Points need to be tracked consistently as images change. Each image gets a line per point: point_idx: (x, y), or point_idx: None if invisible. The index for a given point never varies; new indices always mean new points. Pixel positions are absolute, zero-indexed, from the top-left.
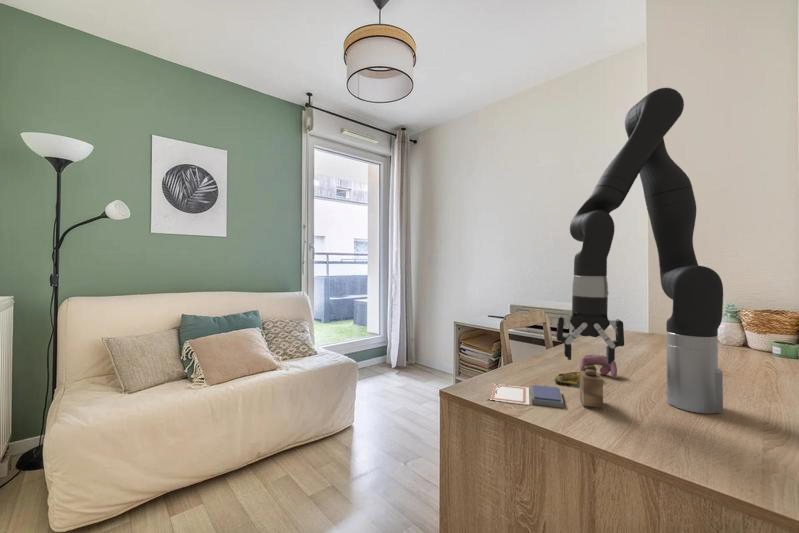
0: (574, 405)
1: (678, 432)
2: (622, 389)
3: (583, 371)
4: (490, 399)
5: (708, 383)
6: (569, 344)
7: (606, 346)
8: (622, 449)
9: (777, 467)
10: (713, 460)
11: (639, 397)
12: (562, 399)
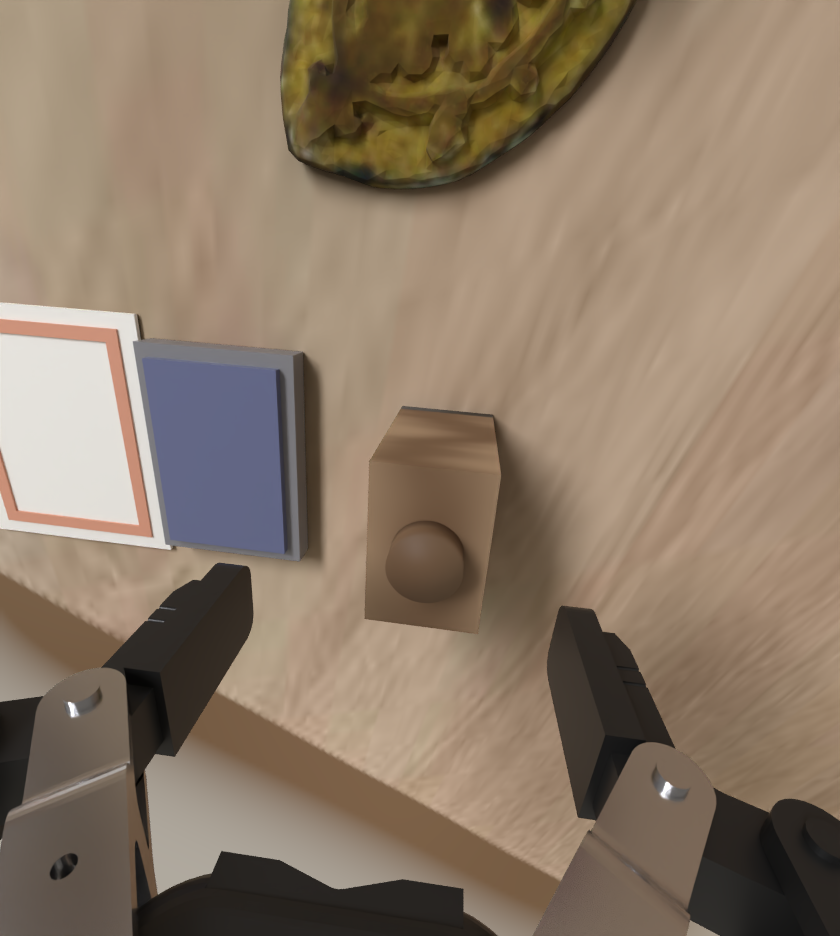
0: (358, 510)
1: (683, 680)
2: (756, 141)
3: (393, 479)
4: (13, 527)
5: None
6: (150, 741)
7: (604, 732)
8: (438, 782)
9: None
10: None
11: (780, 304)
12: (298, 524)
